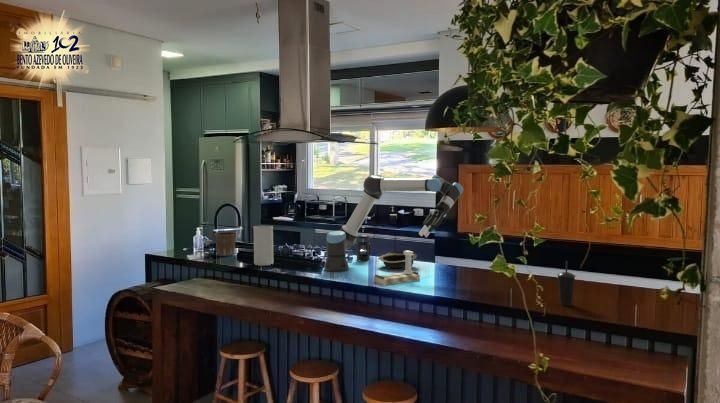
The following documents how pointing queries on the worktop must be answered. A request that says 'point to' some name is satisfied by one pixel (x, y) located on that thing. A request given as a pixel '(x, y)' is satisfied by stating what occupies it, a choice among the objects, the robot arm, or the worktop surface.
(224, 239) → the plant pot
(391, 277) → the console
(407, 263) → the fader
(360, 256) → the french press
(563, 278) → the drinking cup
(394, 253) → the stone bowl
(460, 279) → the worktop surface
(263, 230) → the cylinder vase
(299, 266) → the worktop surface
